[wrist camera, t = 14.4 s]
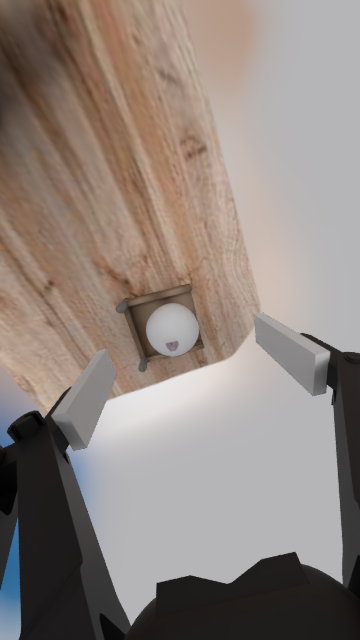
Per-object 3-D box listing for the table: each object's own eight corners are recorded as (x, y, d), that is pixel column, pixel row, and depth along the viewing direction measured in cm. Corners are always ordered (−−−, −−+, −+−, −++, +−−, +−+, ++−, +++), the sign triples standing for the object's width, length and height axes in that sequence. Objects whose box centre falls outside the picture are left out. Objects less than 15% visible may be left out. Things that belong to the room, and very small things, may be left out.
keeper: (143, 357, 43) (139, 372, 37) (122, 299, 38) (114, 305, 32) (202, 343, 43) (207, 356, 37) (188, 282, 38) (192, 286, 32)
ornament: (169, 349, 42) (169, 381, 31) (139, 318, 39) (128, 342, 28) (203, 323, 41) (216, 347, 29) (175, 289, 38) (178, 302, 26)
